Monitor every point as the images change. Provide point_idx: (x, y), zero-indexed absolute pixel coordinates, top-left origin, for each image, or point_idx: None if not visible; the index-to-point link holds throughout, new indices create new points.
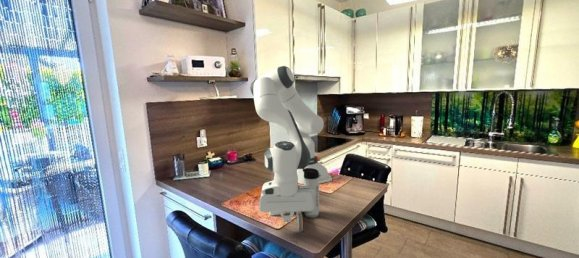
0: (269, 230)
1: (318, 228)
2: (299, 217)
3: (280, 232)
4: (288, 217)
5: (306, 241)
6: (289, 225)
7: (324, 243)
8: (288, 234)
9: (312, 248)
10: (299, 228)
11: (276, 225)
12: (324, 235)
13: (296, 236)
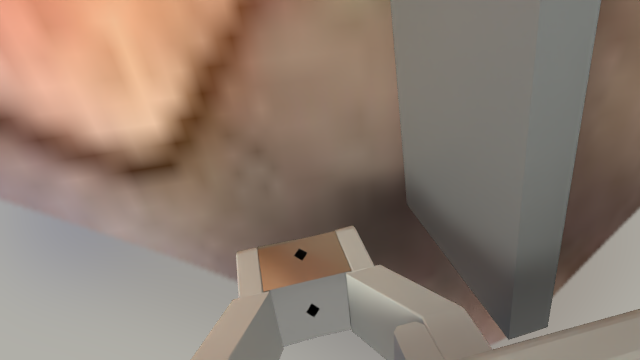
0: (52, 211)
1: (595, 88)
2: (508, 325)
3: (204, 221)
4: (335, 315)
5: (452, 283)
6: (280, 68)
7: (570, 273)
8: (297, 234)
9: (481, 332)
10: (425, 223)
11: (94, 91)
12: (605, 187)
13: (375, 245)
